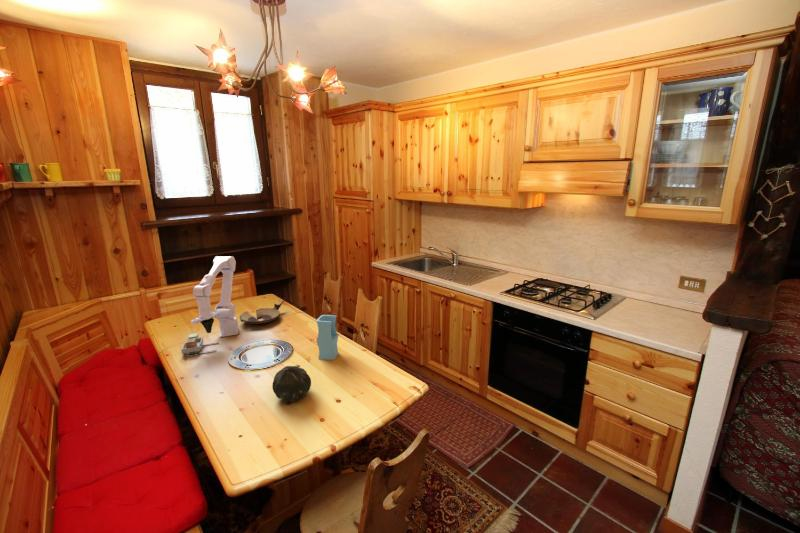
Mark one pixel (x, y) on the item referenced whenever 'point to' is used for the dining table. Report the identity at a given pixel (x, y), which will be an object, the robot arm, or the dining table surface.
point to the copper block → (191, 343)
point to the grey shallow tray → (193, 349)
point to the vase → (327, 337)
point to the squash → (291, 383)
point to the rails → (201, 352)
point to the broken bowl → (262, 314)
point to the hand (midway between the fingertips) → (208, 332)
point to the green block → (193, 336)
